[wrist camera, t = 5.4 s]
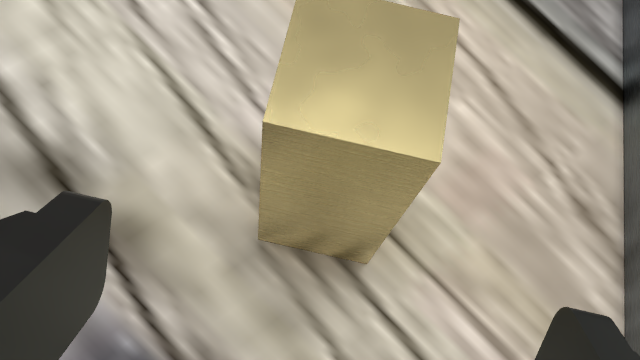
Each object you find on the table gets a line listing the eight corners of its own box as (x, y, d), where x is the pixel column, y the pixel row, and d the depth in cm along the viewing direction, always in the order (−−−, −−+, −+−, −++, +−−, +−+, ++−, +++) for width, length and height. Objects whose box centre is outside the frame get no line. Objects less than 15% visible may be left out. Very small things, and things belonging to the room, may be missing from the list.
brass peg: (366, 263, 21) (440, 162, 13) (258, 239, 21) (263, 121, 13) (383, 165, 23) (459, 18, 15) (282, 142, 23) (301, -20, 14)
